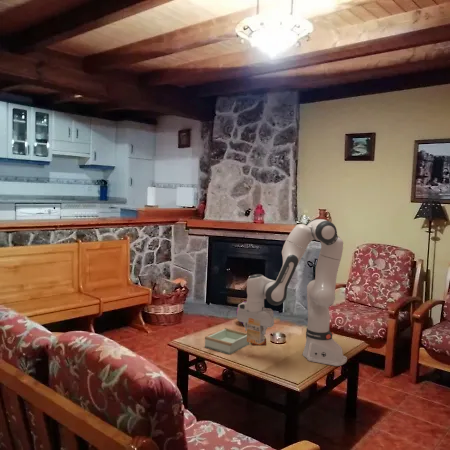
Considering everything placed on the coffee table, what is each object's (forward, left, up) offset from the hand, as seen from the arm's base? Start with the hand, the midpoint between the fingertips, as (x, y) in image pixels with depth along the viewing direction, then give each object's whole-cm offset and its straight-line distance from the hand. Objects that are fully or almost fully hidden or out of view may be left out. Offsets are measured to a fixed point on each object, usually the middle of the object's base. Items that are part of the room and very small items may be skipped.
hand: (255, 332), depth 227 cm
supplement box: (0, 0, -6) cm, 6 cm away
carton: (+11, -21, -13) cm, 27 cm away
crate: (+19, -3, -12) cm, 23 cm away
